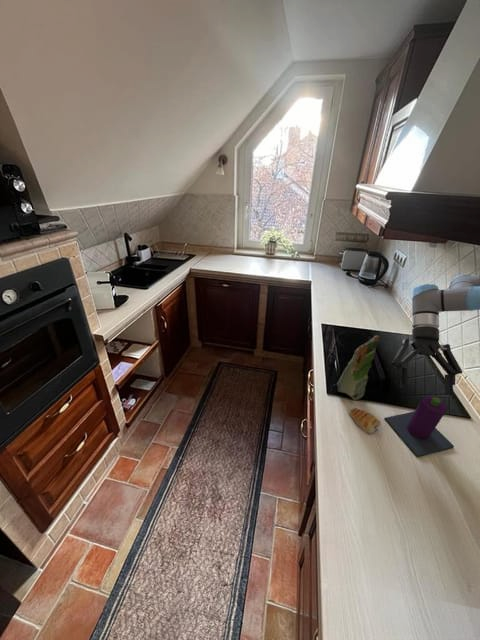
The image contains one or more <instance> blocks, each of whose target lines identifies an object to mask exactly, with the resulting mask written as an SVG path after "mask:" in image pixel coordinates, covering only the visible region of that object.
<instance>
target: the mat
mask: <svg viewBox="0 0 480 640" xmlns="http://www.w3.org/2000/svg"><path fill="white" fill-rule="evenodd" d="M414 412H415V410H414V411H409V412H405V413H400V414H395V415H391V416H387V417H384V420H385V422H386V423H387V424H388V425H389V427H390V428H391V429H392V430H393V432H395V434H396V435H397V436H398V437H399V439H400V440H401V441H402V442H403V443H404V444H405V445H406V447H407V448H408V449H409V450H410V451H411V452H412V453H413V455H415V457H416V458H420V457H424V456H428V455H431V454H435V453H438V452H439V453H440V452H443V451H446V450H450V449H451V450H452V449H454V448H455V445H454V444H453V443H452V442H451V441H450V440H449V439H448V438H447V437H446V436H445V435H444V434H443V433H441V431H439V429H438V428H437V427H435V429H434V431H433V432H432V434H431V435H430V437H429V438H428V439H426V440H421V439H418V438H416V437H414V436H413V435H411V434H410V433H409V431H408V429H407V424H408V422H409V421H410V419H411V417H412V415H413V414H414Z"/></svg>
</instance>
